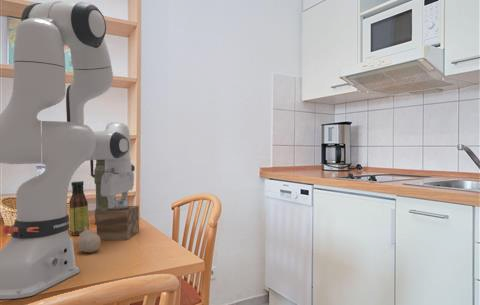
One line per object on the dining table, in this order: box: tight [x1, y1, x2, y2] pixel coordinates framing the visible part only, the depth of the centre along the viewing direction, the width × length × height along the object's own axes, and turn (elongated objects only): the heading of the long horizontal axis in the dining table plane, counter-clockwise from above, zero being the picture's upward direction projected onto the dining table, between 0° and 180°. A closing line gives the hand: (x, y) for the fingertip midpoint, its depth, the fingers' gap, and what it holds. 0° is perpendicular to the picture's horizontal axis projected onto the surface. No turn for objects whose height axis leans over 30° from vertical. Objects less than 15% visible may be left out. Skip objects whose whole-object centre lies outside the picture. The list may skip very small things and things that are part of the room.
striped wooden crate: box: [96, 205, 140, 241], centre depth 120 cm, size 11×11×10 cm
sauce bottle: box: [69, 180, 90, 237], centre depth 122 cm, size 7×6×20 cm
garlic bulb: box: [77, 226, 102, 253], centre depth 101 cm, size 7×6×8 cm
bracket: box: [108, 199, 128, 210], centre depth 119 cm, size 2×6×8 cm, turn 86°
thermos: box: [89, 159, 116, 226], centre depth 141 cm, size 9×12×35 cm
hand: (118, 205), depth 119 cm, fingers open, 8 cm apart
